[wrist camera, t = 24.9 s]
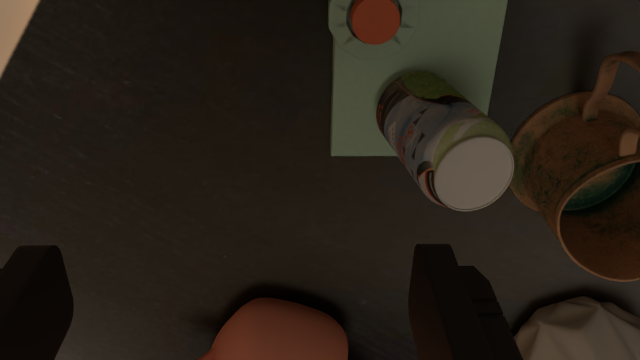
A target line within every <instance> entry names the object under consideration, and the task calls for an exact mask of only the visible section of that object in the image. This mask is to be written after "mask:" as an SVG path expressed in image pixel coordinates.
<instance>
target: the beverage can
mask: <svg viewBox="0 0 640 360" xmlns="http://www.w3.org/2000/svg"><path fill="white" fill-rule="evenodd" d="M376 119H377V124H378V127H379V130H380V131H381V133H382V135H383V136H384V137H385V139H386V140H387V142H388V143H389V145H390V146H391V147H392V149H393V150H394V152H395V153H396V154H397V156H398V157H399V159H400V160H401V162H402V163H403V164H404V166H405V167H406V169H407V170H408V172H409V173H410V174H411V176H412V177H413V179H414V180H415V181H416V183H417V184H418V186H419V187H420V189H421V190H422V191H423V193H424V194H425V195H426V196H427V197H428V198H429V199H430V200H432V201H433V202H434V203H436V204H438V205H440V206H443V207H447V208H452V209H454V210H458V211H474V210H478V209H481V208H483V207H486V206H488V205H489V204H491V203H493V202H494V201H495V200H497V199H498V198H499V197H500V196H501V195H502V194H503V193H504V191H505V190H506V189H507V187H508V185H509V184H510V182H511V179H512V176H513V172H514V160H513V156H512V147H511V143H510V140H509V138H508V136H507V135H506V133H505V132H504V130H503V129H502V128H501V127H499V126H498V125H497V124H496V123H495V122H494V121H492V120H491V119H490V118H489V117H488V116H486V115H485V114H484V113H483V112H482V111H480V110H479V109H478V108H477V107H476V106H475V105H473V104H472V103H471V102H470V101H469V100H467V99H466V98H465V97H464V96H463V95H462V94H460V93H459V92H458V91H457V90H456V89H454V88H453V87H452V86H451V85H450V84H448V83H447V82H446V81H445V80H444V79H443V78H441V77H440V76H438V75H436V74H434V73H431V72H427V71H414V72H410V73H407V74H404V75H402V76H400V77H398V78H397V79H395V80H394V81H393V82H392V83H390V84H389V85H388V87H387V88H386V89H385V90H384V92H383V93H382V95H381V97H380V99H379V102H378V105H377V110H376Z"/></svg>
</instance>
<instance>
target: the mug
mask: <svg viewBox="0 0 640 360" xmlns="http://www.w3.org/2000/svg"><path fill="white" fill-rule="evenodd" d="M620 61H624V62H626V63H628V64H629V65H631V66H632V67H634V68H635V69H636V70H637V71H638V72H639V73H640V53H639V52H635V51H626V52H621V53H616V54H612V55H609V56H607V57H606V58H605V59H604V61H603V63H602V64H601V67H600V70H599V74H598V78H597V82H596V85H595V88H594V90H593V91H587V92H578V93H572V94H568V95H565V96H562V97H560V98H557V99H555V100H553V101H551V102H549V103H547V104H545V105H544V106H542V107H541V108H539V109H538V110H537V111H535V112H534V113H533V114H532V115H531V116H530V117H528V118H527V119H526V121H525V122H524V123H523V124H522V125H521V126H520V128H519V129H518V130H517V132H516V133H515V135H514V137H513V139H512V141H511V147H512V156H513V160H514V172H513V176H512V179H511V182H510V184H509V186H510V187H511V189H512V191H513V193H514V194H515V196H516V197H517V198H518V199H519V200H520V201H521V202H522V203H523V204H524V205H526V206H527V207H529V208H531V209H533V210H535V211H538V212H540V214H541V215H542V217H543V218H544V219H545V220H546V221H547V223H548V226H549V227H550V228H551V230H552V231H553V233H554V234H555V236H556V237H557V239H558V240H559V241H560V243H561V245H562V247H563V248H564V250H565V251H566V253H567V254H568V255H569V257H570V258H571V259H572V260H573V261H574V262H575V263H576V264H577V265H579V266H580V267H581V268H583V269H584V270H586V271H588V272H590V273H592V274H594V275H596V276H599V277H601V278H604V279H608V280H612V281H619V282H628V281H635V280H639V279H640V116H639V115H638V113H637V112H636V111H635V110H634V109H633V108H632V107H631V106H630V105H629V104H628V103H626V102H625V101H623V100H622V99H620V98H618V97H616V96H613V95H611V94H608V92H609V90H610V89H611V86H612V84H613V81H614V78H615V75H616V71H617V68H618V65H619V63H620Z"/></svg>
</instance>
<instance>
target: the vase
mask: <svg viewBox="0 0 640 360" xmlns="http://www.w3.org/2000/svg"><path fill="white" fill-rule="evenodd" d="M514 339H515V341H516V344H517V346H518V348H519V351H520V353H521V355H522V357H523V360H640V319H639V318H637V317H636V316H634V315H632V314H631V313H629V312H627V311H625V310H622V309H621V308H619V307H618V306H616V305H615V304H613V303H611V302H598V301H596V300H594V299H592V298H590V297H587V296H580V297H576V298H572V299H568V300H565V301H562V302H558V303H555V304H551V305H547V306H544V307H541V308H538V309H537V310H536V311H535V312H534V313H533V314H532V316H531V317H530V318H529V319H528V321H527V322H525V323H524V324H523V325H522V326H521V327H520V329H519V331H518V332H517V333H516V335H515V336H514Z"/></svg>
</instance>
